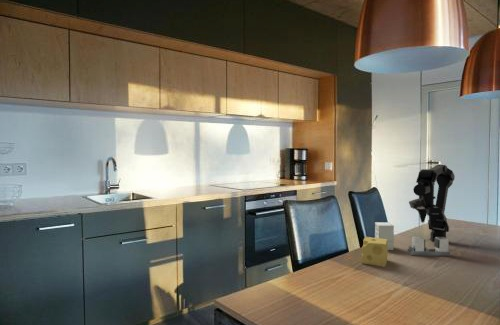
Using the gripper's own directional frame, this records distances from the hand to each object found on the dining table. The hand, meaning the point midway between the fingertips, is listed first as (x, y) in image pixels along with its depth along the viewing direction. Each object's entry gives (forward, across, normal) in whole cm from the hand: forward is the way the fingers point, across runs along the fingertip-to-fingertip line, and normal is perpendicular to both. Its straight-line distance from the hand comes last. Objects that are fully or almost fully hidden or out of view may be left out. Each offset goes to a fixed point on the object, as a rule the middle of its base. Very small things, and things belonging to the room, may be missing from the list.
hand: (426, 224), depth 168 cm
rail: (+12, +11, -4) cm, 17 cm away
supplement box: (+12, +2, -22) cm, 25 cm away
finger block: (+10, +11, -9) cm, 17 cm away
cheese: (+12, +23, -33) cm, 42 cm away
